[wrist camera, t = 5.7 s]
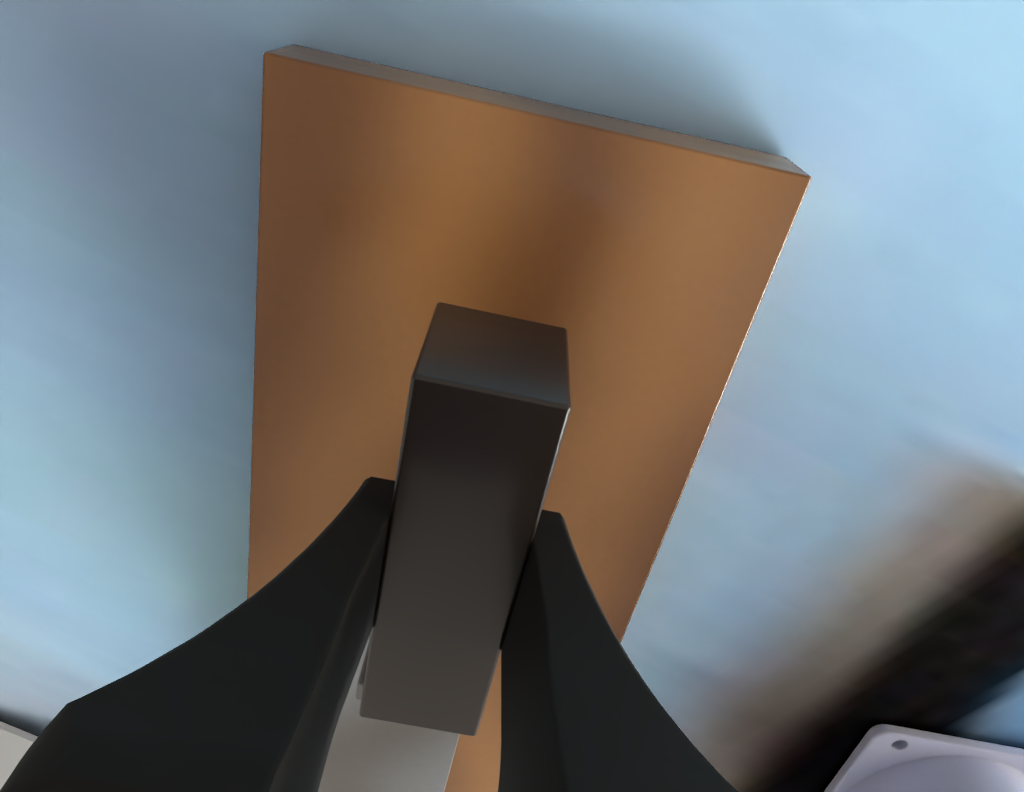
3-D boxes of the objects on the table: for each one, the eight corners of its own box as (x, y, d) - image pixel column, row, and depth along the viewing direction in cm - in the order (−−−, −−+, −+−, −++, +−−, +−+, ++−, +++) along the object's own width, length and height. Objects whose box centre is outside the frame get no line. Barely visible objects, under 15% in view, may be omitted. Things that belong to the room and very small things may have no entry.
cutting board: (788, 157, 16) (813, 176, 14) (533, 812, 29) (531, 860, 27) (291, 43, 15) (262, 51, 14) (257, 766, 28) (240, 812, 27)
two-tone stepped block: (568, 327, 13) (572, 406, 11) (432, 830, 21) (417, 938, 19) (376, 286, 13) (335, 359, 10) (313, 810, 21) (282, 918, 19)
